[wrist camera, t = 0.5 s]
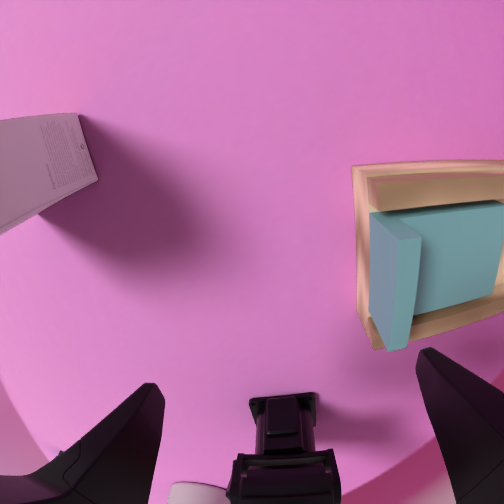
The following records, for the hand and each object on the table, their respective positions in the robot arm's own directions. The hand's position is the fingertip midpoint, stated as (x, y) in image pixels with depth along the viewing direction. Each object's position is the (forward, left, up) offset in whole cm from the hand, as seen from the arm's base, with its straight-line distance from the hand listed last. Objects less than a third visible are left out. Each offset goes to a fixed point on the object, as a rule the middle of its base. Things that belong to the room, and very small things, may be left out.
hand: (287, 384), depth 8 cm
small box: (+9, +16, -12) cm, 22 cm away
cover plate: (-1, -10, -9) cm, 14 cm away
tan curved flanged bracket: (-1, -13, -12) cm, 18 cm away
